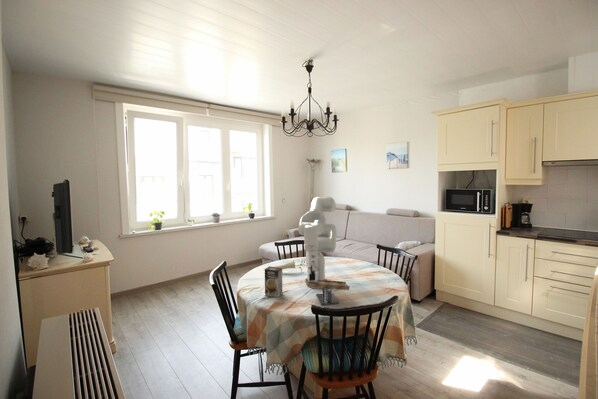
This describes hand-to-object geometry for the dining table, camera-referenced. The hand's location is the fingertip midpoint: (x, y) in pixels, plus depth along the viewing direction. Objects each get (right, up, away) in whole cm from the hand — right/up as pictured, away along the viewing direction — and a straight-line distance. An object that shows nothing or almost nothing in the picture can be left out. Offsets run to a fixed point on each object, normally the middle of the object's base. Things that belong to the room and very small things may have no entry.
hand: (311, 278), depth 161 cm
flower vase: (-12, -10, +49) cm, 51 cm away
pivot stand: (+9, -13, +2) cm, 16 cm away
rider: (0, -1, 0) cm, 1 cm away
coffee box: (-22, -13, +10) cm, 28 cm away
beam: (+9, -5, +1) cm, 10 cm away
